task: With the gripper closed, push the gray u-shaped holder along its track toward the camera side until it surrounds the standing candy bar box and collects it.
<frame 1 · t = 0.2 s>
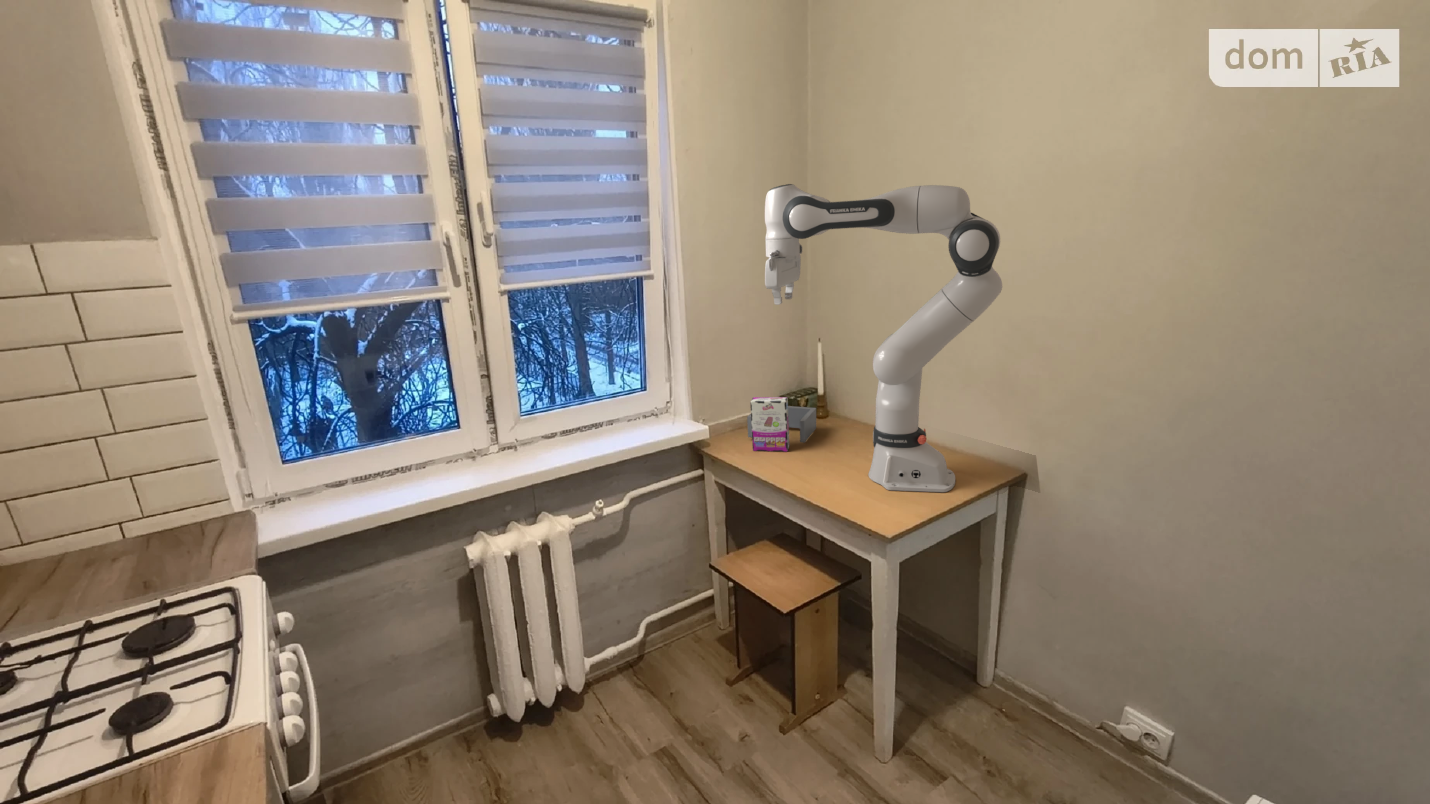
hand: (783, 301, 173), 48 cm above the table, fingers open, 8 cm apart
candy bar box: (771, 449, 199), on the table
gray u-shaped holder: (782, 423, 208), point 4 cm above the table, slide at 0.5 cm
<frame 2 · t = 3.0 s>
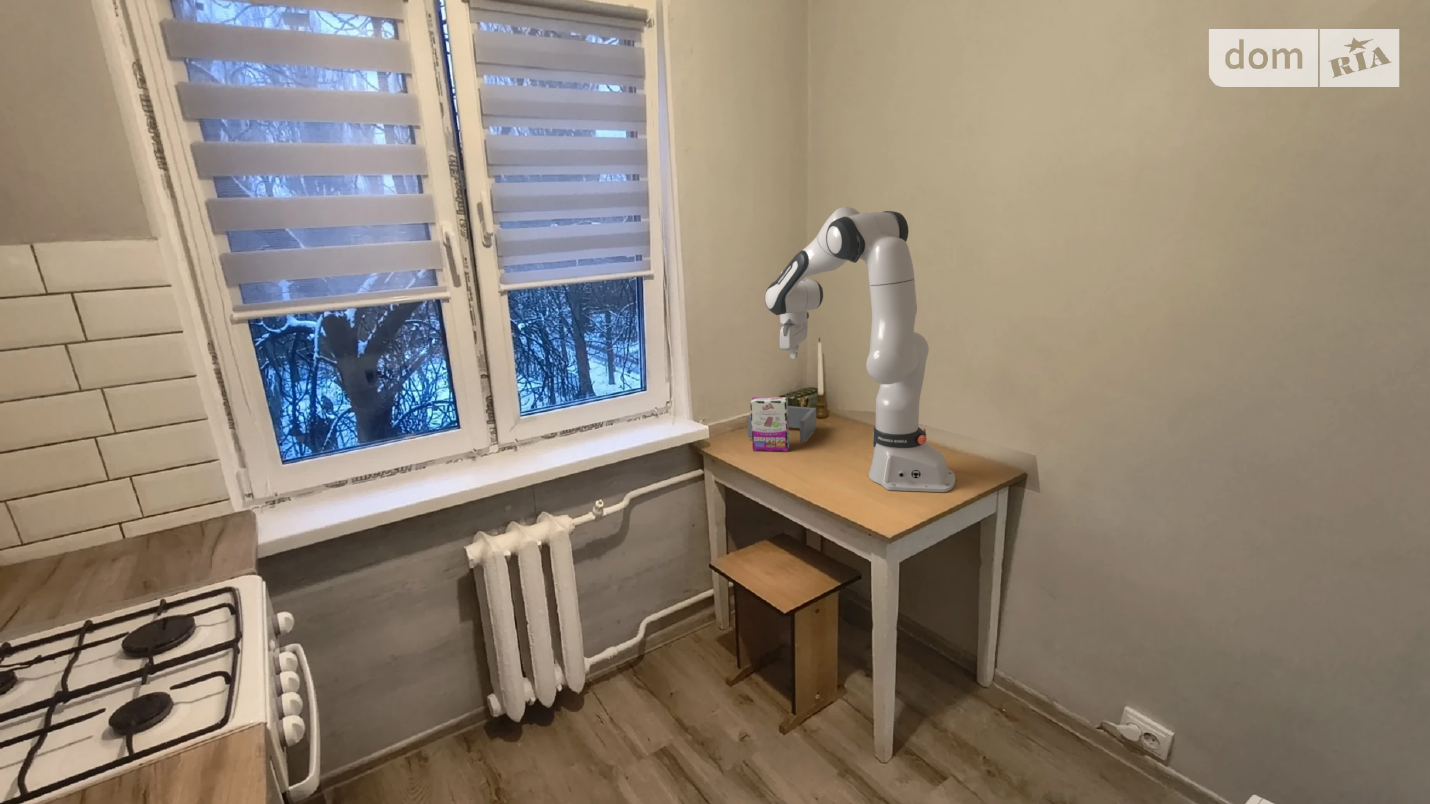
hand: (794, 357, 216), 23 cm above the table, fingers closed
nothing on the table moved.
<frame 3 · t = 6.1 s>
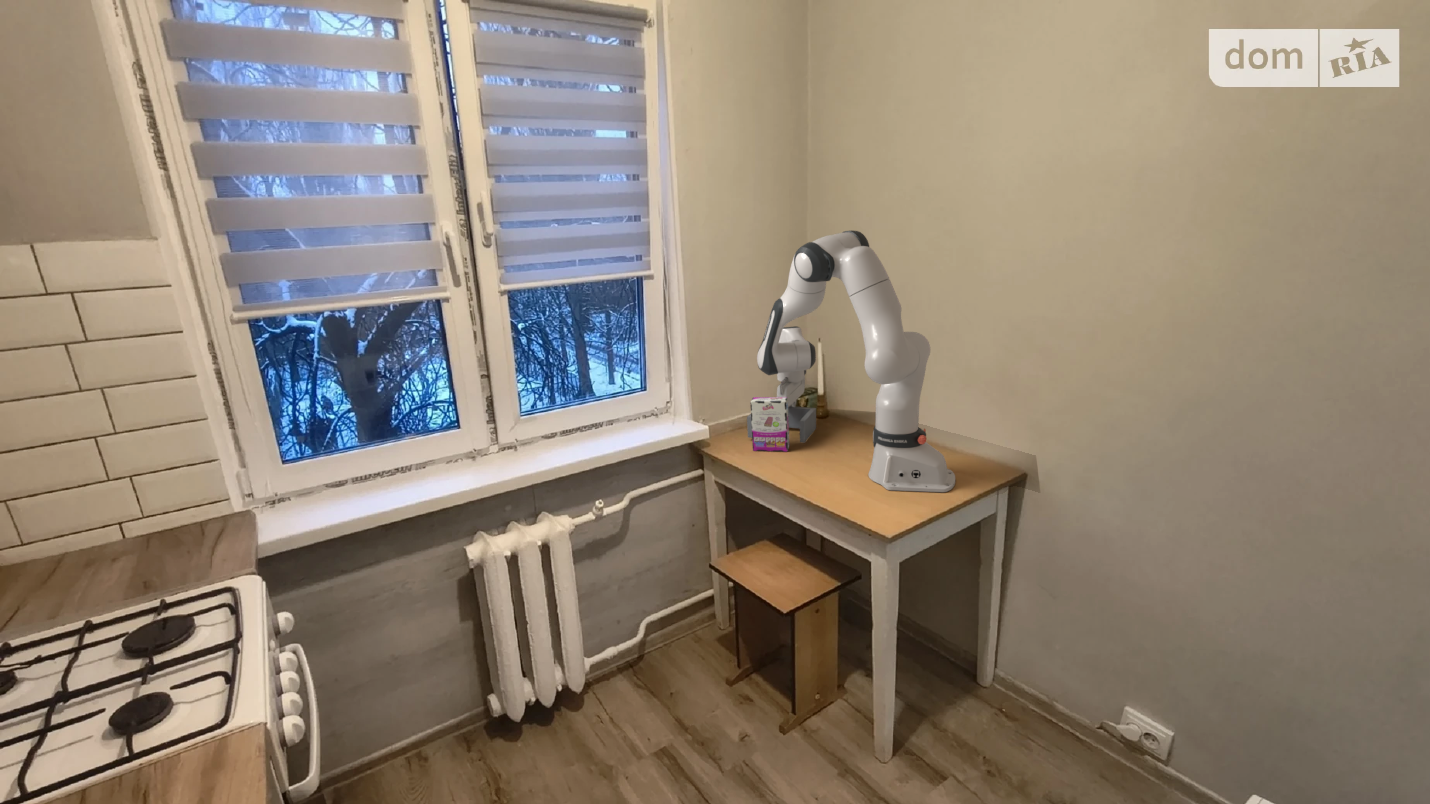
hand: (791, 413, 216), 5 cm above the table, fingers closed
gray u-shaped holder: (782, 423, 208), point 4 cm above the table, slide at 0.7 cm, touching gripper
everything else where it was.
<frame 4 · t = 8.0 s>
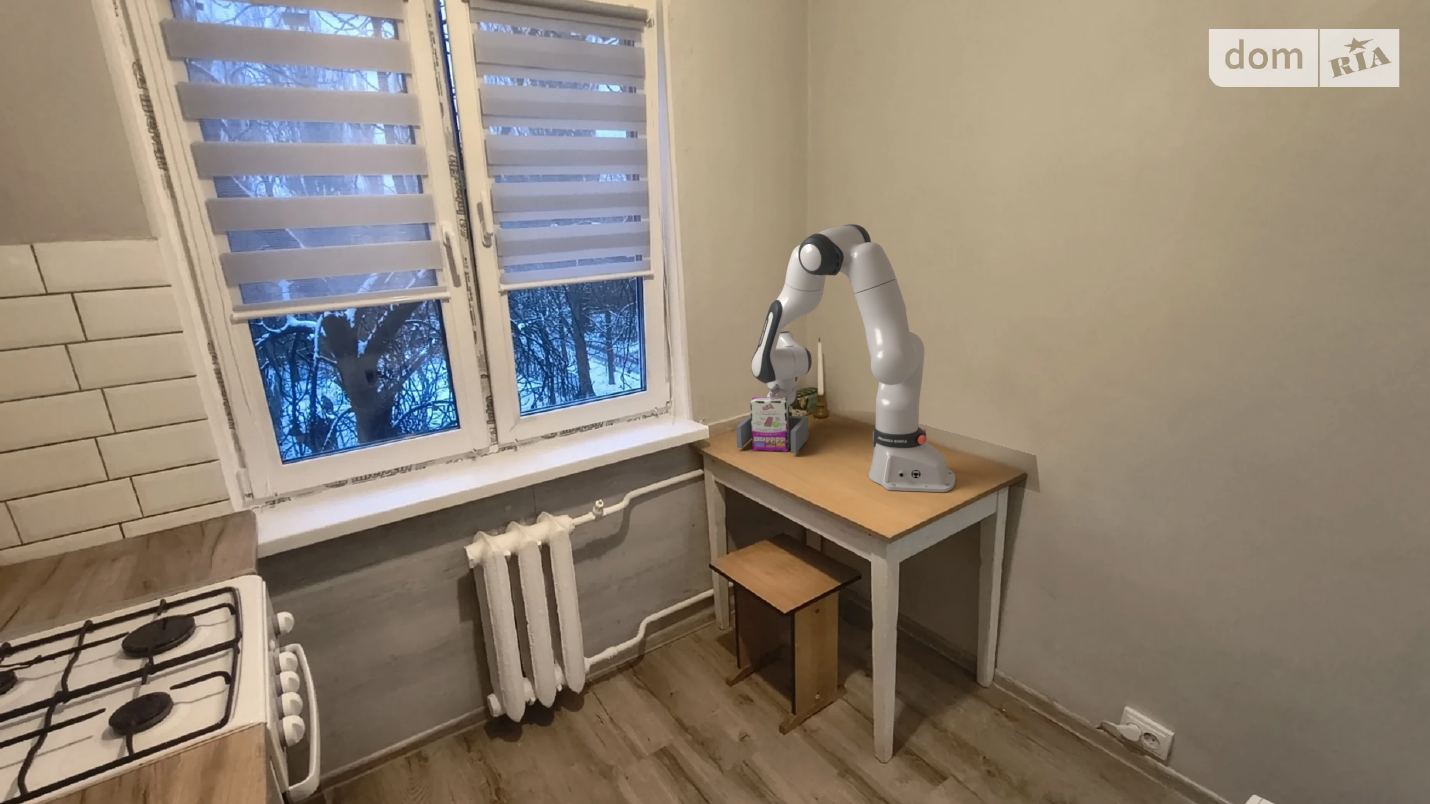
hand: (782, 421, 208), 5 cm above the table, fingers closed
gray u-shaped holder: (772, 433, 200), point 4 cm above the table, slide at 10.2 cm, touching gripper
everything else where it was.
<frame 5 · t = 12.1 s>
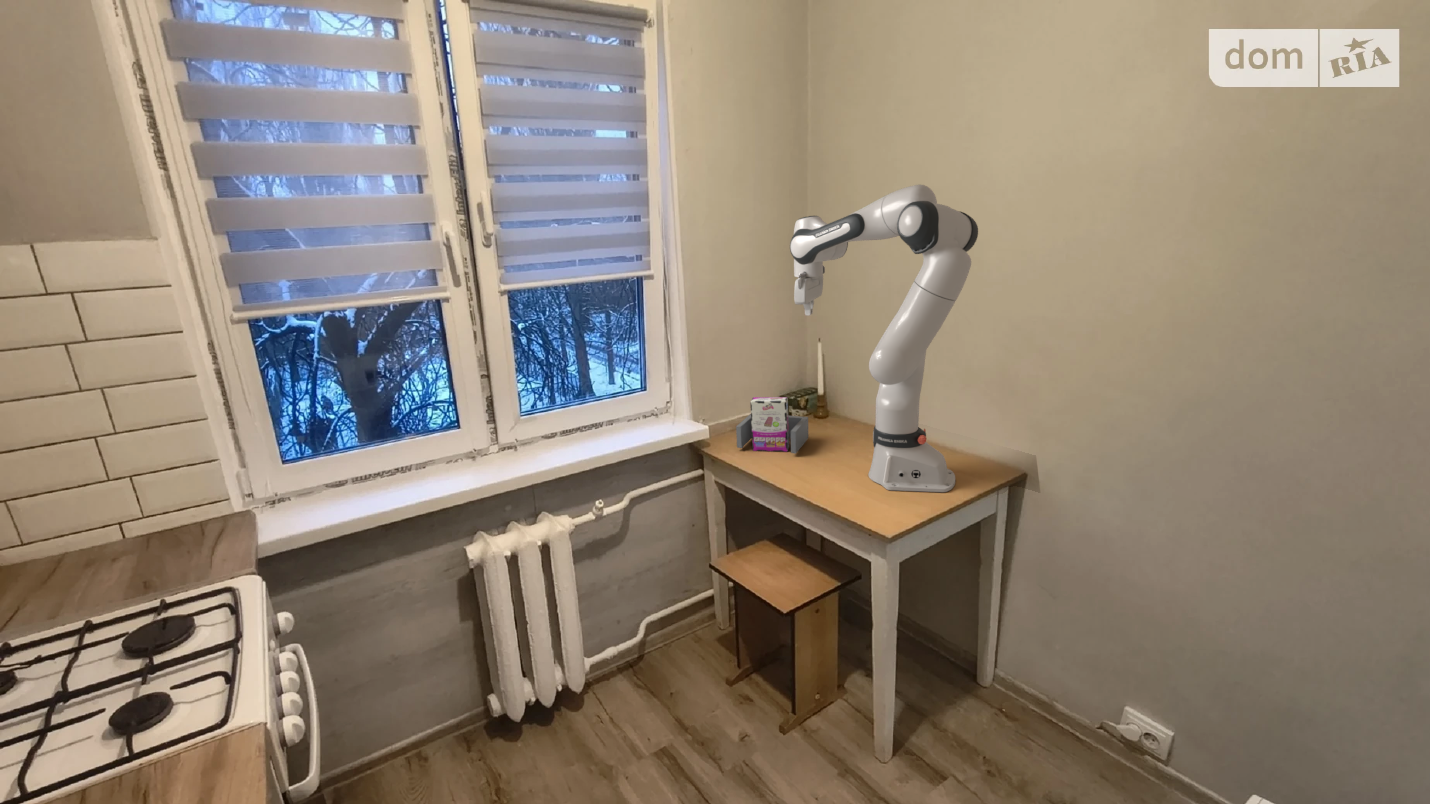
hand: (808, 314, 201), 39 cm above the table, fingers closed
gray u-shaped holder: (772, 433, 200), point 4 cm above the table, slide at 10.2 cm
everything else where it was.
at the end: gray u-shaped holder slide at 10.2 cm; candy bar box inside the target area on the gray u-shaped holder (1.3 cm from its centre), point 0.0 cm above the gray u-shaped holder's base; candy bar box tilted 0° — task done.
